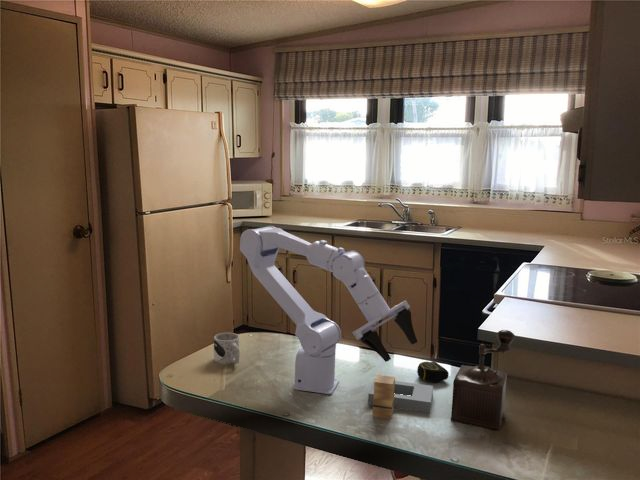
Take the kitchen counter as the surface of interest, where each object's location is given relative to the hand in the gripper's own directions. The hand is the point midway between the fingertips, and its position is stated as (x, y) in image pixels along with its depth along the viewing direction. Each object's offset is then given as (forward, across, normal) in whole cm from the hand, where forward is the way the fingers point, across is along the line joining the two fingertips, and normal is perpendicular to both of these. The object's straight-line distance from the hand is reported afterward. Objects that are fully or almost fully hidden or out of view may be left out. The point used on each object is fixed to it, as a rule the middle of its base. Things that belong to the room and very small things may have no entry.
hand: (401, 351), depth 122 cm
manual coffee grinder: (+21, +10, +3) cm, 23 cm away
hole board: (+10, -2, +10) cm, 14 cm away
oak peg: (+9, -9, +6) cm, 14 cm away
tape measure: (+11, +12, +20) cm, 25 cm away
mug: (-20, -29, +37) cm, 51 cm away
